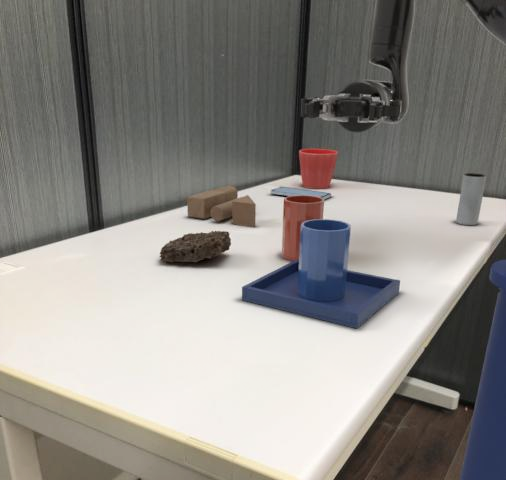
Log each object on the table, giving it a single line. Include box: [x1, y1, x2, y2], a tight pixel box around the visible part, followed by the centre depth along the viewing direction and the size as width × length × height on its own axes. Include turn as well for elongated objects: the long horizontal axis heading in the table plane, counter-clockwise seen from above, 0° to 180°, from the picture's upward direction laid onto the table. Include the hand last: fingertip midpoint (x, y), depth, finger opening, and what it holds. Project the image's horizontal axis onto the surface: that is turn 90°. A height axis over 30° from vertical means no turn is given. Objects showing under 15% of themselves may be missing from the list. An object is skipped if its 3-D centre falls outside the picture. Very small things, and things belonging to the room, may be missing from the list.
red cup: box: [281, 195, 325, 262], centre depth 99 cm, size 7×7×10 cm
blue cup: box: [298, 218, 352, 302], centre depth 81 cm, size 7×7×10 cm
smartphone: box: [270, 186, 332, 200], centre depth 150 cm, size 7×1×15 cm
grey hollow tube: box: [455, 172, 487, 226], centre depth 123 cm, size 4×4×10 cm
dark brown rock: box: [159, 230, 232, 263], centre depth 97 cm, size 12×10×5 cm
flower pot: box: [298, 148, 339, 190], centre depth 161 cm, size 11×11×10 cm
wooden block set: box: [186, 185, 257, 228], centre depth 128 cm, size 17×6×18 cm
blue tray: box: [241, 260, 401, 329], centre depth 82 cm, size 18×16×2 cm
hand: (341, 111), depth 78 cm, fingers open, 8 cm apart
